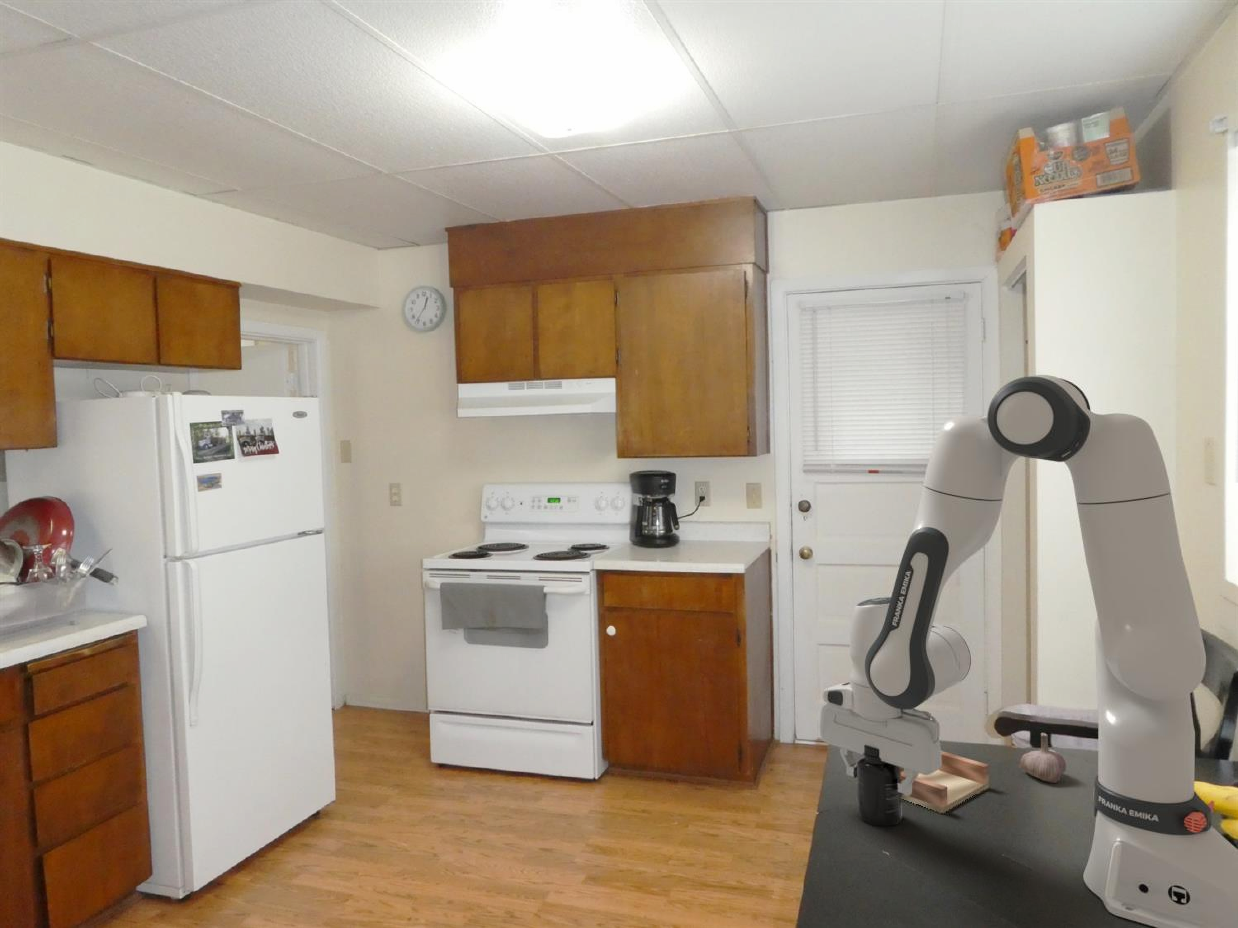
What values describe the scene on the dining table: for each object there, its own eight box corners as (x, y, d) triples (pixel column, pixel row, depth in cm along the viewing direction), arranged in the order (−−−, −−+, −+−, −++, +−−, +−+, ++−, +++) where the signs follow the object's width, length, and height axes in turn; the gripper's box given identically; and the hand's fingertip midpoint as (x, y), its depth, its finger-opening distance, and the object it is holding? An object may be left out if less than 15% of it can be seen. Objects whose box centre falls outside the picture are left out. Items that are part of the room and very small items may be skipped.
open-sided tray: (988, 787, 153) (988, 764, 153) (942, 814, 143) (942, 789, 143) (915, 764, 164) (914, 743, 164) (867, 787, 154) (867, 764, 154)
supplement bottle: (897, 809, 146) (897, 736, 145) (906, 828, 139) (906, 752, 138) (853, 808, 146) (853, 735, 146) (861, 827, 139) (860, 751, 139)
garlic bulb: (1063, 789, 152) (1063, 742, 152) (1016, 780, 156) (1017, 735, 156) (1068, 773, 159) (1068, 729, 158) (1023, 766, 163) (1023, 722, 162)
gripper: (950, 710, 136) (949, 799, 136) (837, 681, 151) (837, 761, 152) (927, 719, 131) (927, 812, 132) (814, 689, 147) (814, 771, 148)
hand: (878, 784), depth 142 cm, fingers open, 8 cm apart
